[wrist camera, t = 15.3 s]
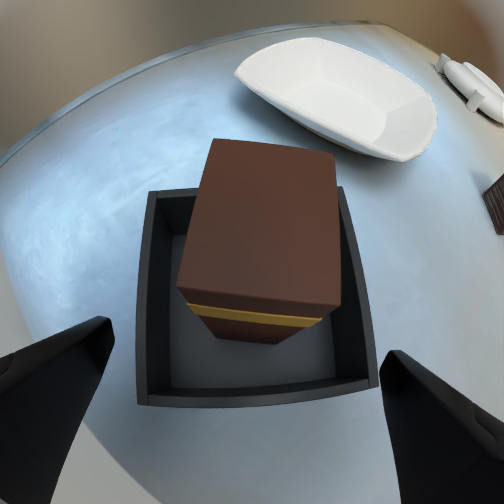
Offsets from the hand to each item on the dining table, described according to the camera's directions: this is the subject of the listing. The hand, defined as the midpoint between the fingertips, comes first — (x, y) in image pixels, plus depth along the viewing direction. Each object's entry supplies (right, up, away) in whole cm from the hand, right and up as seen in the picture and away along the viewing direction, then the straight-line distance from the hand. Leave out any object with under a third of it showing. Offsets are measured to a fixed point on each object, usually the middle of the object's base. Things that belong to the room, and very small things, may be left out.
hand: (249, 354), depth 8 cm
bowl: (+11, +20, +21) cm, 31 cm away
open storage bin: (0, -1, +11) cm, 11 cm away
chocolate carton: (0, -1, +11) cm, 11 cm away
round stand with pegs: (+53, +40, +32) cm, 74 cm away
